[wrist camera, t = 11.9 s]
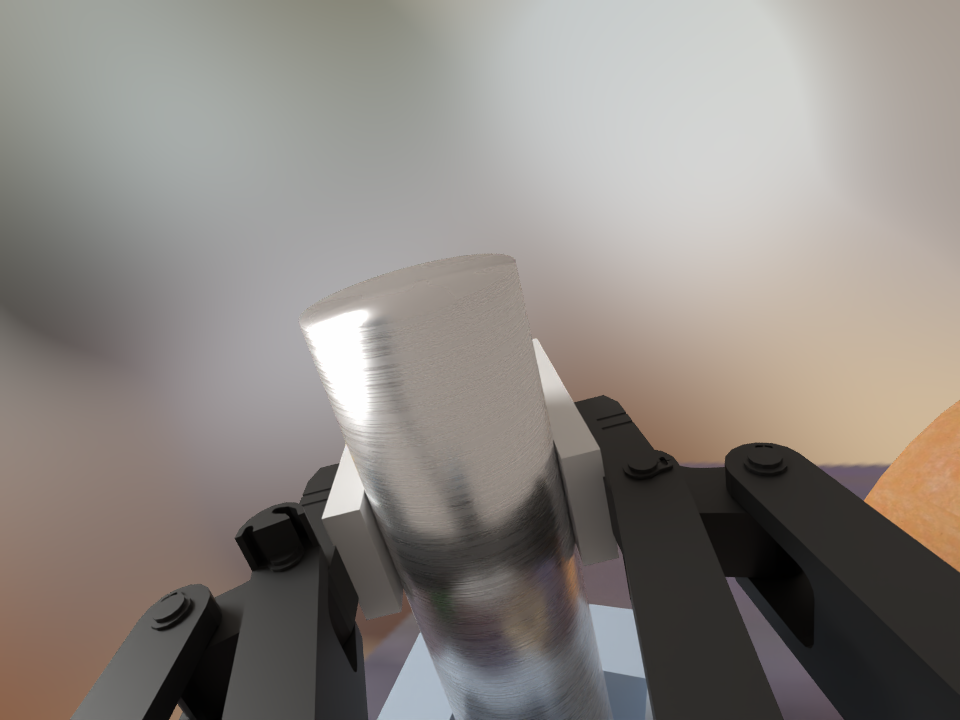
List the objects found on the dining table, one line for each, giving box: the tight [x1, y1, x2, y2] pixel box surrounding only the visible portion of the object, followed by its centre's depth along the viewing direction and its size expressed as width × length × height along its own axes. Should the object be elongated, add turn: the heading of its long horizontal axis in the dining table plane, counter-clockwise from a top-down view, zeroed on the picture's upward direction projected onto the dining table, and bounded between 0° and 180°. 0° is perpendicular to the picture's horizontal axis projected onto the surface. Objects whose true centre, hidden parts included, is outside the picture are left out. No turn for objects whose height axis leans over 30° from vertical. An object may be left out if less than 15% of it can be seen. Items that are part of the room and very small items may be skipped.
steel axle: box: [299, 254, 613, 720], centre depth 12 cm, size 4×4×14 cm
